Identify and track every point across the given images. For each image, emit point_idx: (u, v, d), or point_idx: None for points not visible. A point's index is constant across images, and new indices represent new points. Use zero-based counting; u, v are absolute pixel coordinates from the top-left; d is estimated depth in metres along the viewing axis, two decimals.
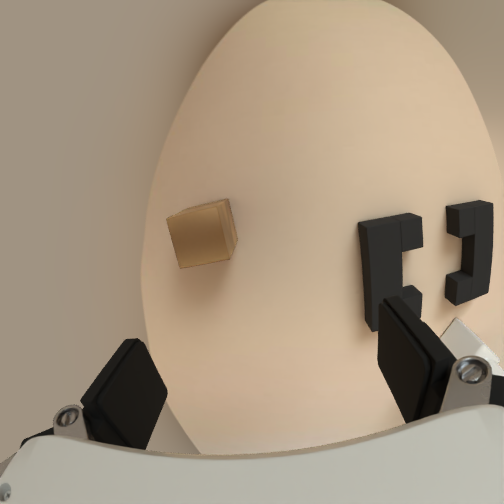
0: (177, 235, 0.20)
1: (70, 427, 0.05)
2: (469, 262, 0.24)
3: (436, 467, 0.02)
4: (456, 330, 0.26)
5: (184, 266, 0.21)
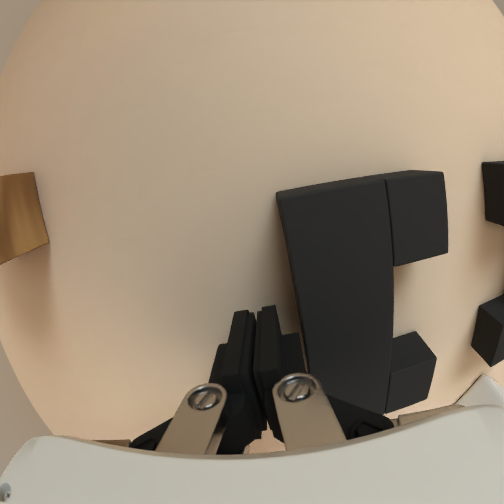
0: None
1: (199, 413, 0.06)
2: None
3: (436, 467, 0.02)
4: (482, 398, 0.11)
5: None
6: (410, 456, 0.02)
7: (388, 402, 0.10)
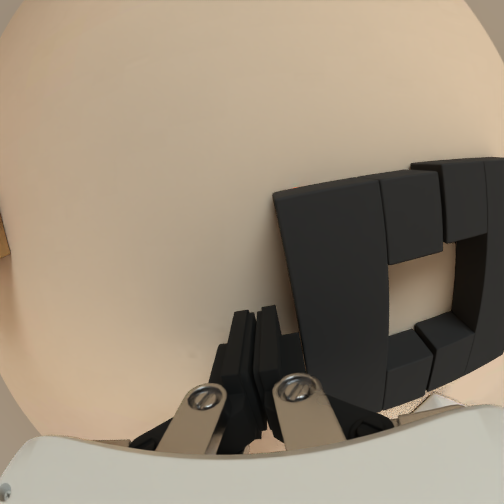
0: None
1: (199, 413, 0.06)
2: (470, 299, 0.10)
3: (436, 467, 0.02)
4: None
5: None
6: (410, 456, 0.02)
7: (385, 398, 0.11)
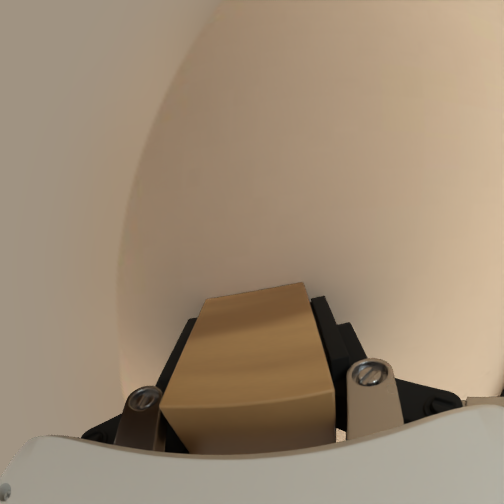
0: (197, 440, 0.06)
1: (142, 412, 0.06)
2: None
3: (436, 467, 0.02)
4: None
5: None
6: (410, 456, 0.02)
7: None
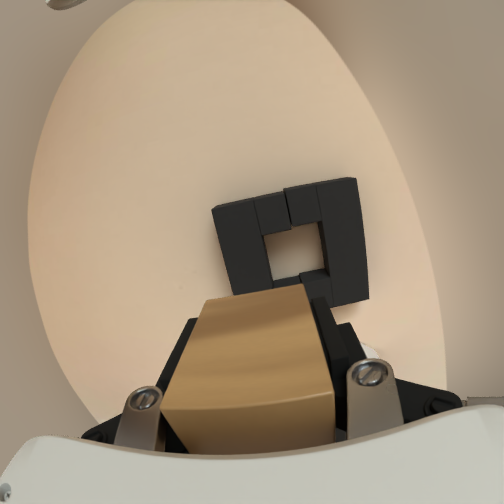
0: (198, 441, 0.06)
1: (142, 412, 0.06)
2: (326, 258, 0.24)
3: (436, 467, 0.02)
4: None
5: None
6: (410, 456, 0.02)
7: None
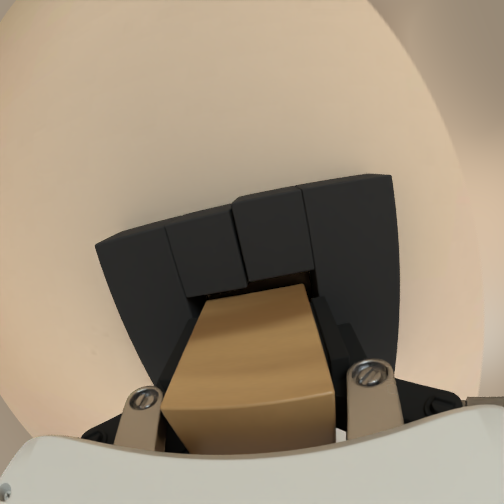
0: (198, 441, 0.06)
1: (142, 412, 0.06)
2: None
3: (436, 467, 0.02)
4: None
5: None
6: (410, 456, 0.02)
7: None
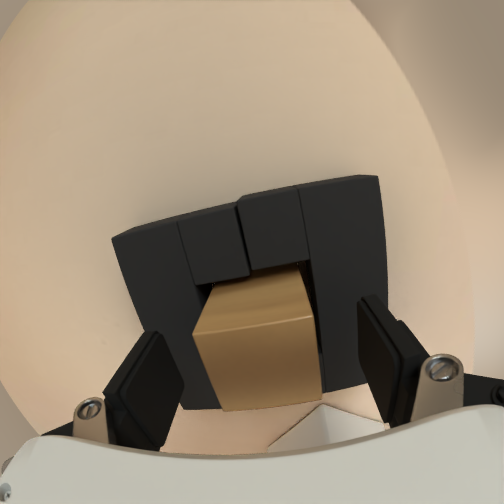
0: (217, 364, 0.09)
1: (90, 421, 0.06)
2: (317, 320, 0.13)
3: (436, 467, 0.02)
4: (312, 428, 0.15)
5: (232, 409, 0.10)
6: (410, 456, 0.02)
7: None
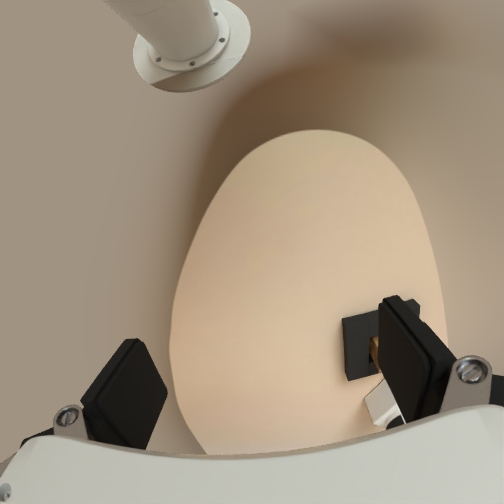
0: None
1: (70, 427, 0.05)
2: None
3: (436, 467, 0.02)
4: None
5: None
6: (410, 456, 0.02)
7: (368, 371, 0.38)
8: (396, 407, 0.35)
